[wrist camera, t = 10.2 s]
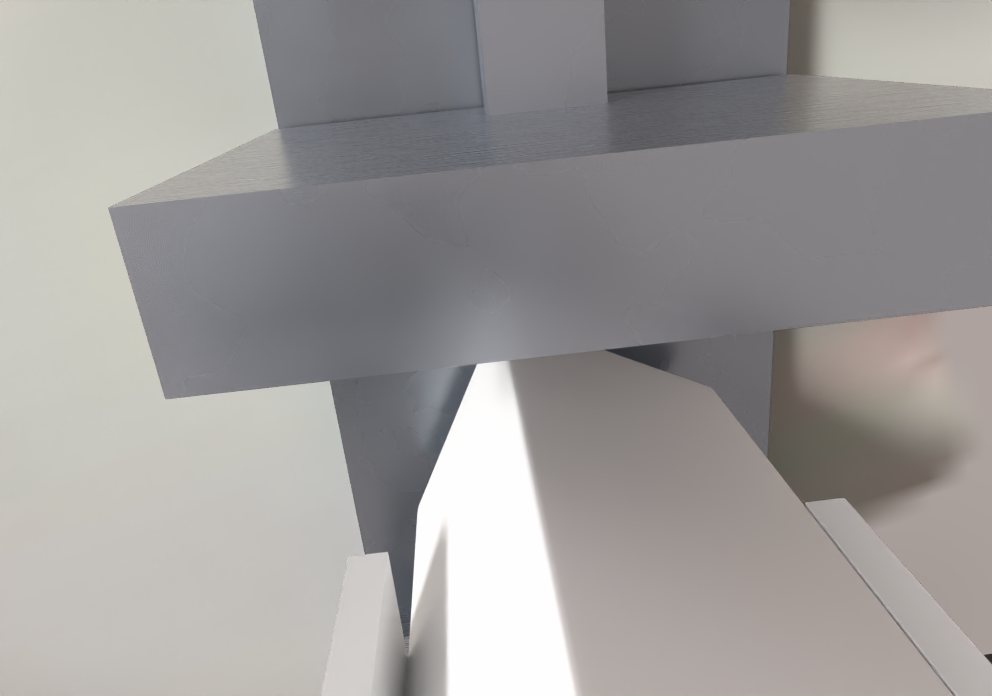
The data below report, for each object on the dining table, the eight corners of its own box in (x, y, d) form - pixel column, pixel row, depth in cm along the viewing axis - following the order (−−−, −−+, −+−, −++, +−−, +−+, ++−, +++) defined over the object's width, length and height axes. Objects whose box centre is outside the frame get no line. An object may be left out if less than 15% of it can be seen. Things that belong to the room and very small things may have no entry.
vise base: (393, 645, 25) (358, 1021, 15) (216, -260, 16) (-165, -764, 6) (741, 603, 25) (923, 948, 16) (775, -314, 16) (1294, -889, 6)
